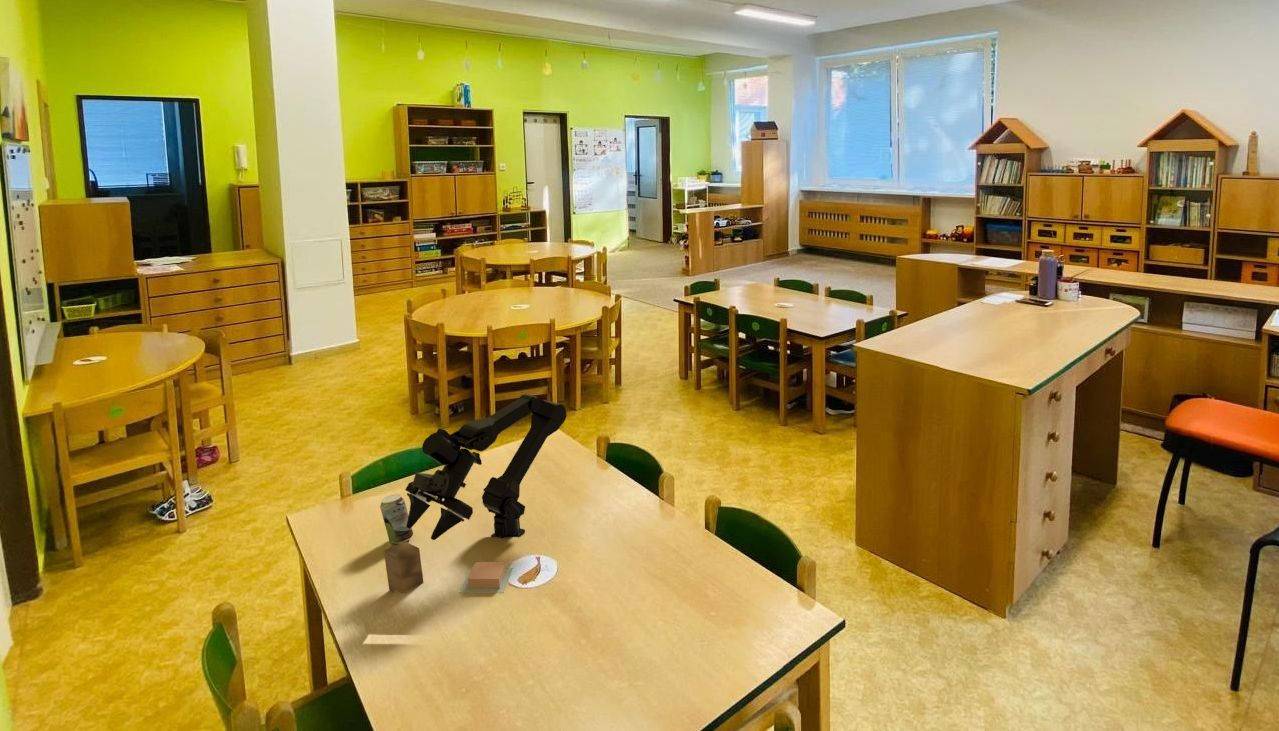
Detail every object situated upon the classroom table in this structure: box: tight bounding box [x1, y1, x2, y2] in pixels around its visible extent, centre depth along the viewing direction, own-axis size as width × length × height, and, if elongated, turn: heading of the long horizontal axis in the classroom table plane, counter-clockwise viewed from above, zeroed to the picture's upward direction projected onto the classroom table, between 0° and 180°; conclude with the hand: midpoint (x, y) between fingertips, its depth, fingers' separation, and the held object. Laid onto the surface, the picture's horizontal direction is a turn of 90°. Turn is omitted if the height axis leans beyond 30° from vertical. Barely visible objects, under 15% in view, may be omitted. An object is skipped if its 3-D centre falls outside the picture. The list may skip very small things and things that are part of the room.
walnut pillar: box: [383, 541, 424, 594], centre depth 173 cm, size 6×6×10 cm
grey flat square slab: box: [459, 567, 514, 594], centre depth 175 cm, size 10×10×2 cm
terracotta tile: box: [468, 561, 507, 589], centre depth 174 cm, size 7×7×2 cm
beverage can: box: [379, 494, 414, 545], centre depth 195 cm, size 6×7×12 cm
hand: (419, 533), depth 175 cm, fingers open, 9 cm apart
